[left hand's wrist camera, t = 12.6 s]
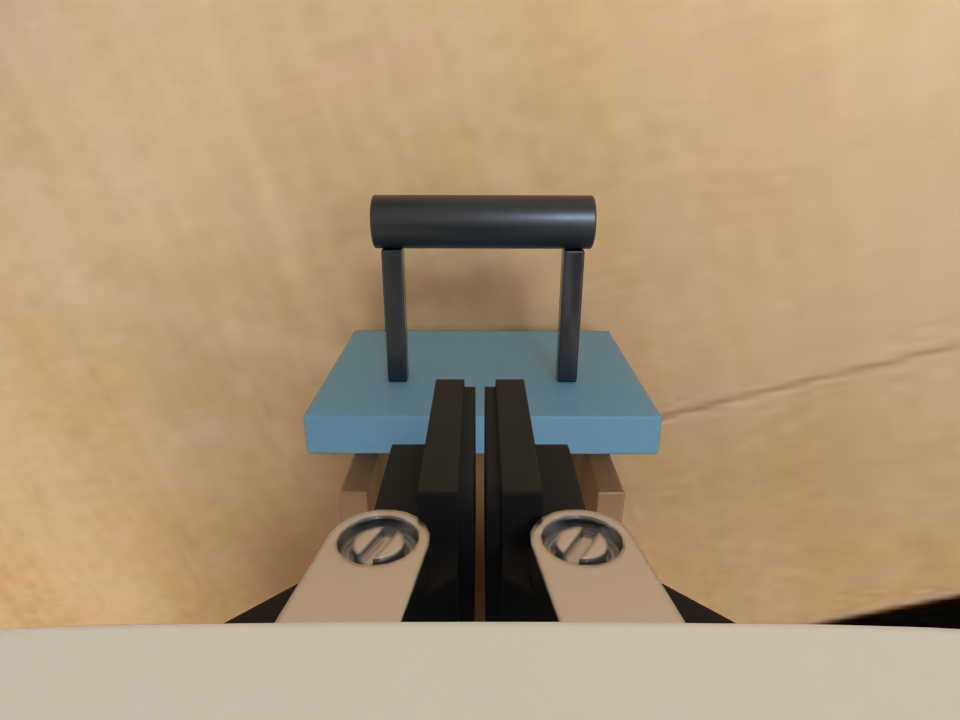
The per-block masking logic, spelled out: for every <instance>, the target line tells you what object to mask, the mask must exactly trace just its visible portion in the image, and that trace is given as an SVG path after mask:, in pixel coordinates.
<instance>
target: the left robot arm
mask: <svg viewBox="0 0 960 720" xmlns="http://www.w3.org/2000/svg"><path fill="white" fill-rule="evenodd" d="M475 553H476V391H475V387H465V382H464V379H436V383H435V388H434V394H433V400H432V406H431V412H430V418H429V423H428V429H427V435H426V441H425V444H393V445H392V447H391V450H390V454H389V457H388V461H387V465H386V468H385V472H384V476H383V479H382V483H381V487H380V490H379V494H378V498H377V501H376V505H375V509H374V510H373V511H367V512H362V513H359V514H357V515H354V516H351V517H349V518H347V519H346V520H344V521H342V522H341V523H339V524H338V525H337V526H336V527H335V528H334V529H333V530H332V531H331V532H330V533H329V535H328V536H327V538H326V540H325V541H324V543H323V545H322V546H321V548H320V549H319V551H318V553H317V554H316V556H315V558H314V559H313V561H312V562H311V564H310V566H309V567H308V569H307V571H306V572H305V574H304V575H303V577H302V579H301V580H300V582H299V583H298V584H296V585H295V586H293V587H291V588H289V589H287V590H285V591H283V592H282V593H280V594H278V595H276V596H274V597H272V598H270V599H269V600H267V601H265V602H263V603H261V604H259V605H257V606H255V607H254V608H252V609H250V610H248V611H246V612H244V613H242V614H241V615H239V616H237V617H235V618H233V619H231V620H229V621H228V622H226V623H224V624H140V625H102V626H72V627H41V628H14V629H0V720H960V629H946V628H924V627H891V626H857V625H820V624H736V623H734V622H732V621H731V620H729V619H727V618H725V617H723V616H721V615H719V614H718V613H716V612H714V611H712V610H710V609H708V608H706V607H705V606H703V605H701V604H699V603H697V602H695V601H693V600H691V599H690V598H688V597H686V596H684V595H682V594H680V593H678V592H677V591H675V590H673V589H671V588H669V587H667V586H665V585H664V584H662V583H661V582H660V580H659V579H658V577H657V575H656V574H655V572H654V571H653V569H652V567H651V566H650V564H649V562H648V561H647V559H646V558H645V556H644V554H643V553H642V551H641V549H640V548H639V546H638V545H637V543H636V541H635V540H634V538H633V536H632V535H631V533H630V532H629V531H628V530H627V529H626V528H625V527H624V526H623V525H622V524H621V523H619V522H618V521H616V520H614V519H613V518H611V517H609V516H606V515H603V514H601V513H598V512H593V511H587V510H586V509H585V505H584V501H583V498H582V494H581V490H580V487H579V483H578V479H577V476H576V472H575V468H574V465H573V461H572V457H571V454H570V450H569V447H568V445H567V444H535V441H534V435H533V429H532V423H531V418H530V412H529V406H528V400H527V394H526V388H525V383H524V379H496V382H495V387H485V391H484V553H485V622H475Z"/></svg>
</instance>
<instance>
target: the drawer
mask: <svg viewBox="0 0 960 720" xmlns="http://www.w3.org/2000/svg"><path fill="white" fill-rule="evenodd" d="M370 228H371V237H372V242H373V245H374V247H375V248H383V249H382V251H381V255H382V274H383V293H384V312H385V331H355V332H354V334H353V336H352V337H351V339H350V341H349V342H348V344H347V346H346V347H345V349H344V351H343V352H342V354H341V355H340V357H339V359H338V360H337V362H336V364H335V365H334V367H333V369H332V370H331V372H330V374H329V375H328V377H327V379H326V380H325V382H324V384H323V385H322V387H321V389H320V390H319V392H318V394H317V395H316V397H315V399H314V400H313V402H312V404H311V405H310V407H309V409H308V410H307V412H306V414H305V415H304V424H305V434H306V443H307V451H308V453H355V455H354V457H353V460H352V463H351V465H350V468H349V470H348V473H347V476H346V478H345V481H344V484H343V486H342V489H341V492H340V497H341V509H342V520H343V521H344V520H346V519H347V518H349V517H351V516H354V515H357V514H359V513H362V512H367V511H373V510H374V509H375V505H376V501H377V498H378V494H379V490H380V487H381V483H382V479H383V476H384V472H385V468H386V465H387V461H388V457H389V454H390V450H391V447H392V445H393V444H425V441H426V435H427V429H428V423H429V418H430V412H431V406H432V400H433V394H434V388H435V383H436V379H464V382H465V387H475V391H476V553H475V622H485V553H484V391H485V387H495V382H496V379H524V383H525V388H526V394H527V400H528V406H529V412H530V418H531V423H532V429H533V435H534V441H535V444H567V445H568V447H569V450H570V454H571V457H572V461H573V465H574V468H575V472H576V476H577V479H578V483H579V487H580V490H581V494H582V498H583V501H584V505H585V509H586V510H587V511H593V512H598V513H601V514H603V515H606V516H609V517H611V518H613V519H614V520H616V521H618V522H619V523H621V524H622V516H623V505H624V495H625V493H624V490H623V488H622V485H621V483H620V480H619V477H618V475H617V472H616V470H615V467H614V465H613V462H612V460H611V457H610V454H657V452H658V446H659V437H660V428H661V419H662V418H661V415H660V414H659V412H658V411H657V409H656V407H655V406H654V404H653V402H652V401H651V399H650V398H649V396H648V394H647V393H646V391H645V390H644V388H643V386H642V385H641V383H640V381H639V380H638V378H637V377H636V375H635V373H634V372H633V370H632V369H631V367H630V365H629V364H628V362H627V360H626V359H625V357H624V356H623V354H622V352H621V351H620V349H619V347H618V346H617V344H616V343H615V341H614V339H613V338H612V336H611V335H610V333H609V332H608V331H580V318H581V302H582V285H583V269H584V250H583V249H590V248H592V246H593V243H594V239H595V232H596V204H595V199H594V197H593V196H543V195H374V196H373V197H372V200H371V206H370ZM404 248H525V249H562V259H561V280H560V301H559V322H558V331H407V314H406V288H405V263H404Z"/></svg>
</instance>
